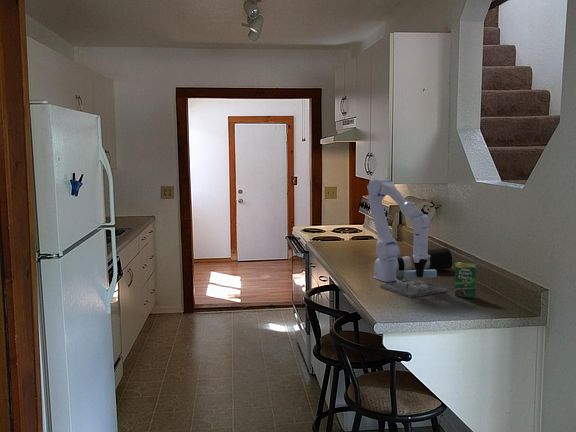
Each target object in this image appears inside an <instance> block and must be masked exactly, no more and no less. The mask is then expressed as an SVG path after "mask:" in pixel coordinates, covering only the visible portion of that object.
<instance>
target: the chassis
mask: <svg viewBox="0 0 576 432" xmlns="http://www.w3.org/2000/svg"><path fill="white" fill-rule="evenodd" d="M403 279H404V278H403ZM403 279H397V281H392V282H386V283H382V284H380V285H379V286H380V288H381V289H384V290H387V291H390V292H392V293H396V294H398V295H401V296H404V297H408V298H409V299H410V298H411V299H412V298H417V297H423V296H427V295H433V294H440V293H444V292H447V290H448V289H447V287H446V288H445V287H443V286H441V285H440V286H439V285H437V284H433V283H430V282H426V281H423V280H420V279H417V278H411V279H407V280H403Z"/></svg>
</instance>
